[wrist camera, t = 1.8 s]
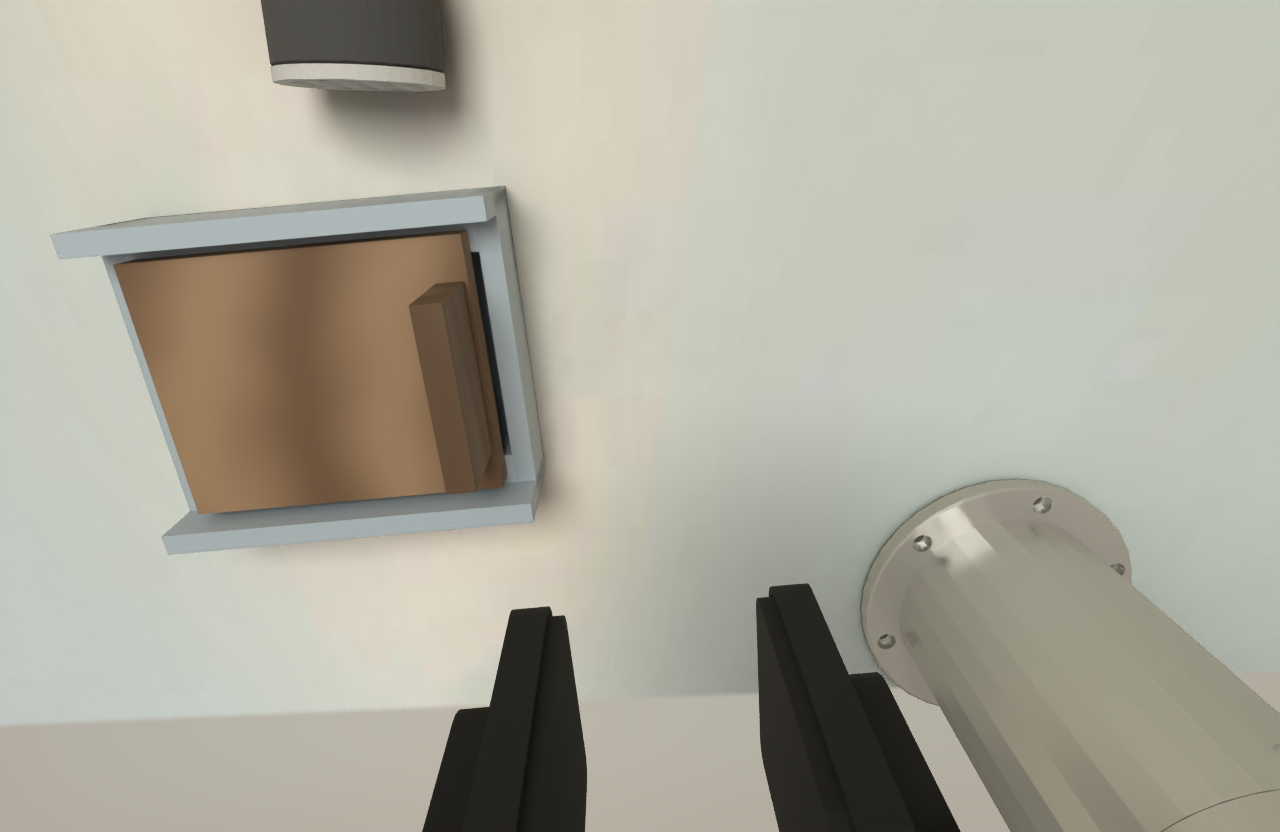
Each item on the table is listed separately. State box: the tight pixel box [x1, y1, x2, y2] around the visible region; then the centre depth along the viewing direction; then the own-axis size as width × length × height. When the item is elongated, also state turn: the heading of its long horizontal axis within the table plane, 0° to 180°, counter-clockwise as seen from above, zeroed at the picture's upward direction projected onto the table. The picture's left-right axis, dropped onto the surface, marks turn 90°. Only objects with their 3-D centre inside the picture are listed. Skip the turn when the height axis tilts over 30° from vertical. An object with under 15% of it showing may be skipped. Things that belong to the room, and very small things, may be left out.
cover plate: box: [113, 229, 507, 514], centre depth 25 cm, size 12×10×5 cm
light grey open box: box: [50, 186, 545, 555], centre depth 28 cm, size 14×12×5 cm
